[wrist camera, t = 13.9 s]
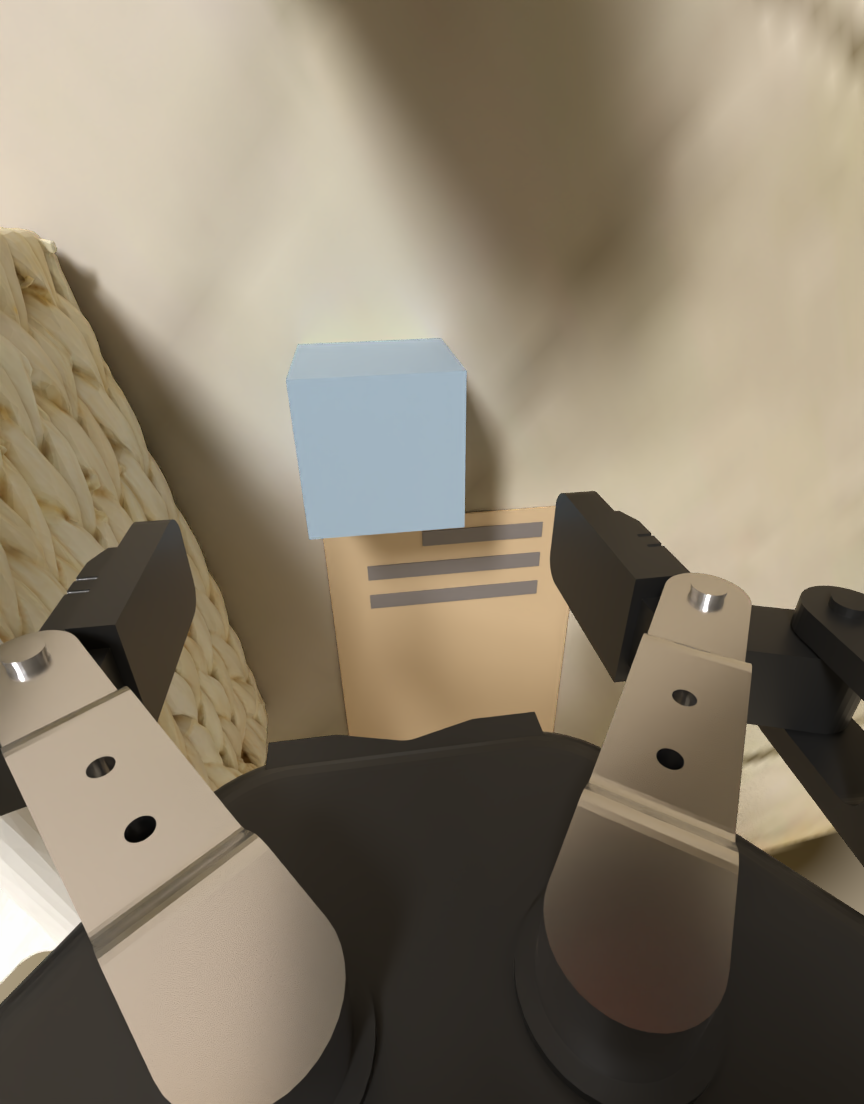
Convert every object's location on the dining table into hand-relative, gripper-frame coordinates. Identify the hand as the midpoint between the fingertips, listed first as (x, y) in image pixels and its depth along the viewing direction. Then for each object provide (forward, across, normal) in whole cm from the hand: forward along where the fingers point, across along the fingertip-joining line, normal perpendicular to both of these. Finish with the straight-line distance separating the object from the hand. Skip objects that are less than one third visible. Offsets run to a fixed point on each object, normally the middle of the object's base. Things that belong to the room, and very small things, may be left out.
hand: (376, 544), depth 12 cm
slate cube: (+10, -1, 0) cm, 10 cm away
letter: (+10, -4, +12) cm, 16 cm away
